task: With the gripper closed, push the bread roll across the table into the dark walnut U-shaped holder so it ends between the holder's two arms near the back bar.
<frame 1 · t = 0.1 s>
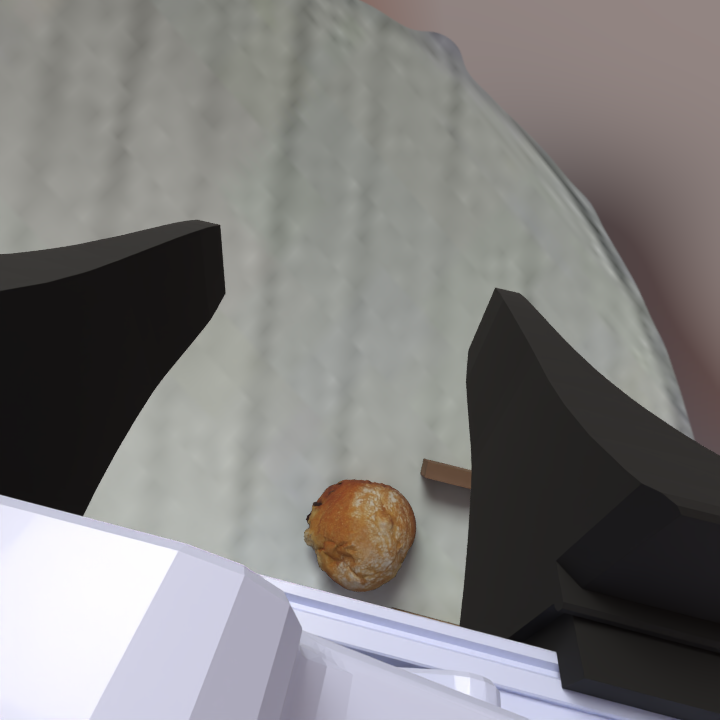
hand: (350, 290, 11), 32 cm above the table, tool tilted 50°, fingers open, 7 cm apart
roll holder: (483, 558, 40), on the table
bread roll: (359, 525, 41), on the table
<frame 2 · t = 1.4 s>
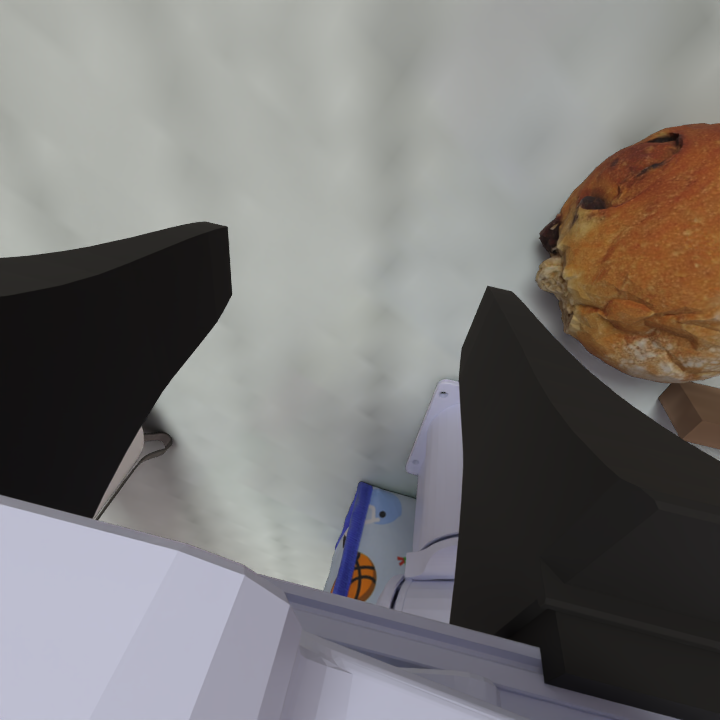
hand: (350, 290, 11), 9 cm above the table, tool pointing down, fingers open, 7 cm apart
lunch bag: (453, 547, 37), on the table
coffee press: (78, 378, 31), on the table
bread roll: (657, 240, 18), on the table
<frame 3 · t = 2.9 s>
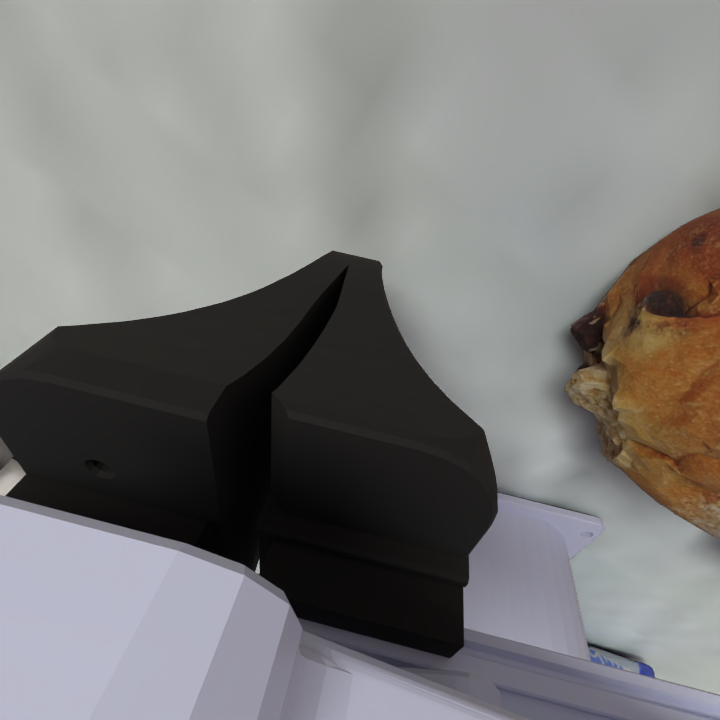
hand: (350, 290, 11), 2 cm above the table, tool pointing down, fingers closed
lunch bag: (452, 633, 32), on the table
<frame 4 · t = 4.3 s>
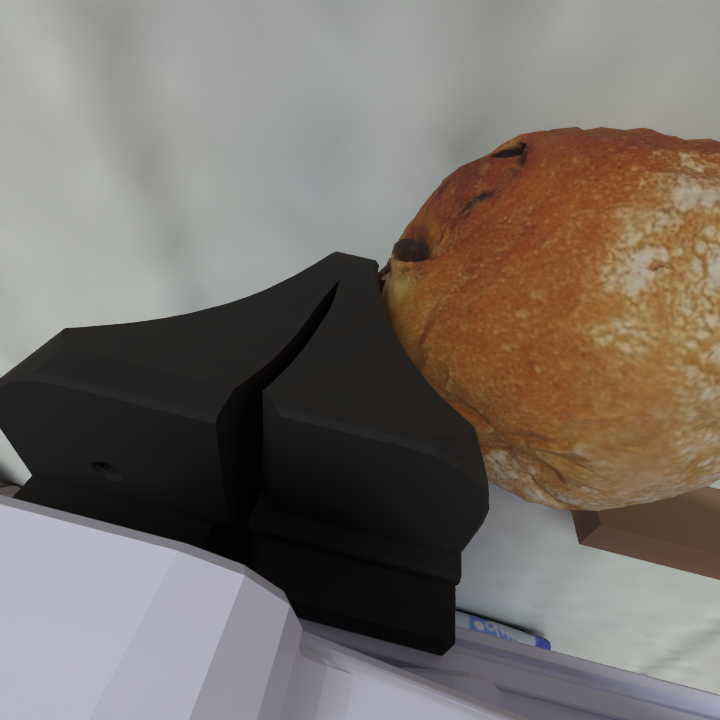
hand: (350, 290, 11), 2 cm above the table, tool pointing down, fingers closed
lunch bag: (368, 611, 32), on the table
bread roll: (547, 291, 12), on the table, touching gripper
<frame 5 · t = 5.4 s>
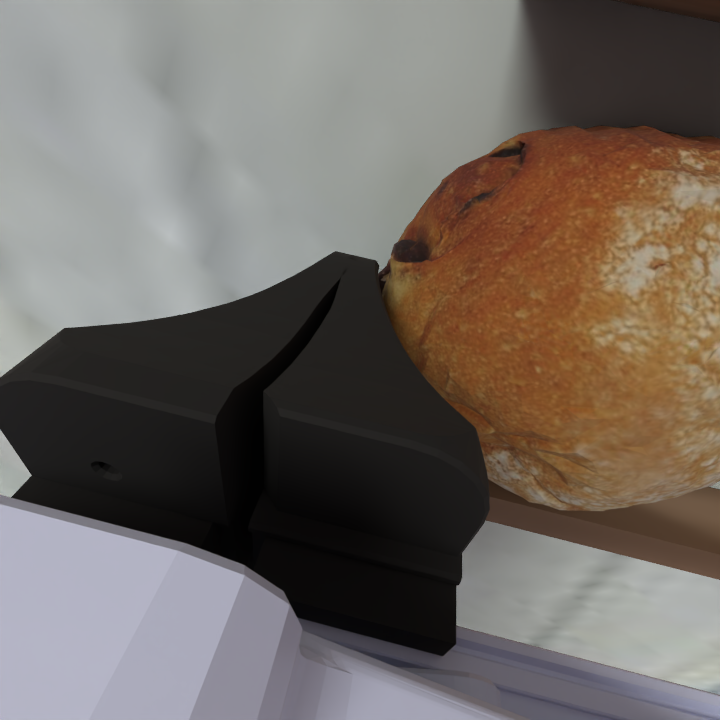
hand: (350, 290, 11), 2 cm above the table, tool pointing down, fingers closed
roll holder: (684, 326, 12), on the table
bread roll: (548, 291, 12), on the table, touching gripper
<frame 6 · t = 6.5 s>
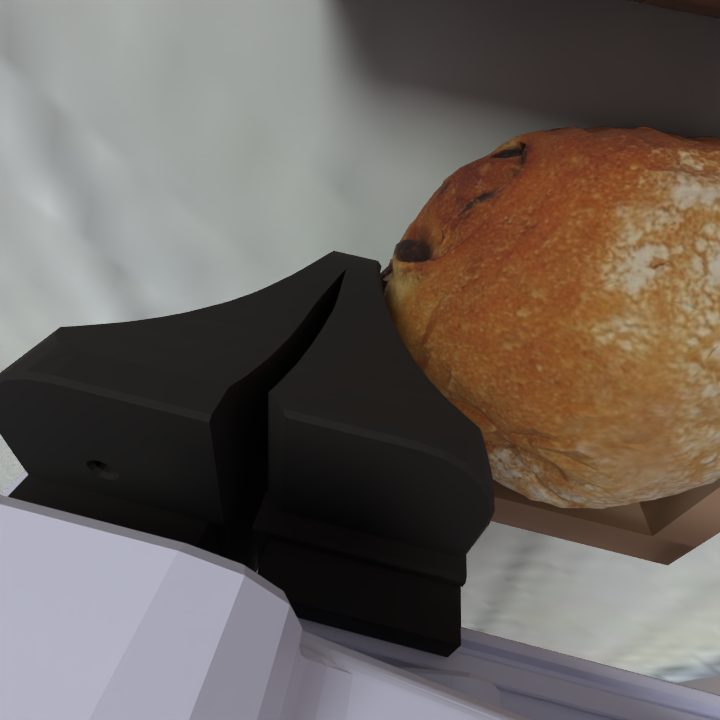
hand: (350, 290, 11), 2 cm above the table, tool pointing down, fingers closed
roll holder: (543, 292, 12), on the table
bread roll: (549, 290, 12), on the table, touching gripper
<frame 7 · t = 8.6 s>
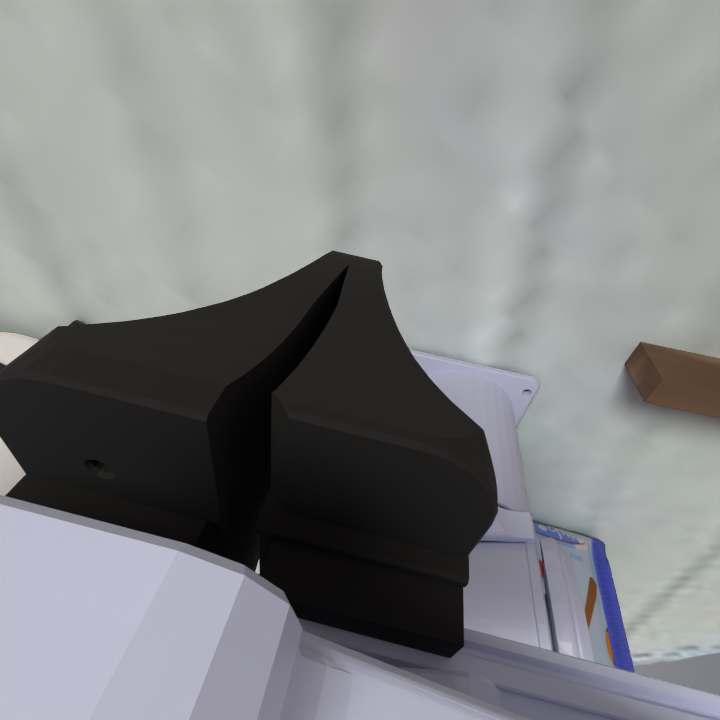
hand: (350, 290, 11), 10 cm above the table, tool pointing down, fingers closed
lunch bag: (437, 532, 37), on the table
coffee press: (57, 362, 32), on the table
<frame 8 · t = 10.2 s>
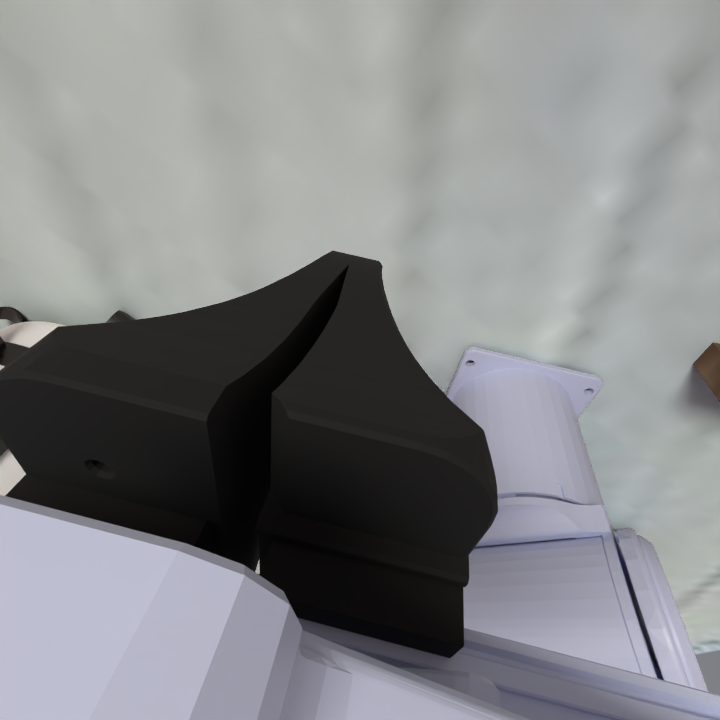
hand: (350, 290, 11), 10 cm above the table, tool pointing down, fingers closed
coffee press: (91, 353, 31), on the table
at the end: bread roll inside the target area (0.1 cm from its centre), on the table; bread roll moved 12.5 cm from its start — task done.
